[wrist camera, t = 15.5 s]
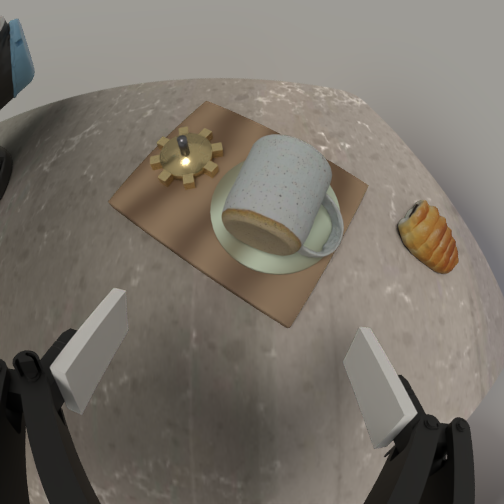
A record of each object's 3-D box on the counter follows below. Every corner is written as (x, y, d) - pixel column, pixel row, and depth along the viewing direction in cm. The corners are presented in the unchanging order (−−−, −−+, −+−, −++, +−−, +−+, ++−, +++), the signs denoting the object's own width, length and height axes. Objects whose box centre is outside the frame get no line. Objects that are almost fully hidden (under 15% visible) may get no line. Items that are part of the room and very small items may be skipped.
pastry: (456, 252, 28) (474, 243, 25) (437, 289, 27) (456, 282, 23) (412, 201, 30) (427, 187, 27) (388, 234, 29) (404, 221, 25)
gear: (139, 170, 28) (129, 151, 24) (183, 124, 30) (179, 104, 27) (192, 202, 27) (186, 184, 23) (237, 150, 29) (237, 129, 26)
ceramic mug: (218, 238, 25) (210, 200, 18) (251, 170, 28) (256, 119, 20) (324, 281, 25) (358, 260, 17) (346, 208, 27) (378, 169, 20)
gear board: (113, 207, 28) (106, 199, 26) (207, 108, 33) (205, 98, 31) (287, 328, 25) (290, 327, 23) (363, 191, 30) (370, 183, 28)
